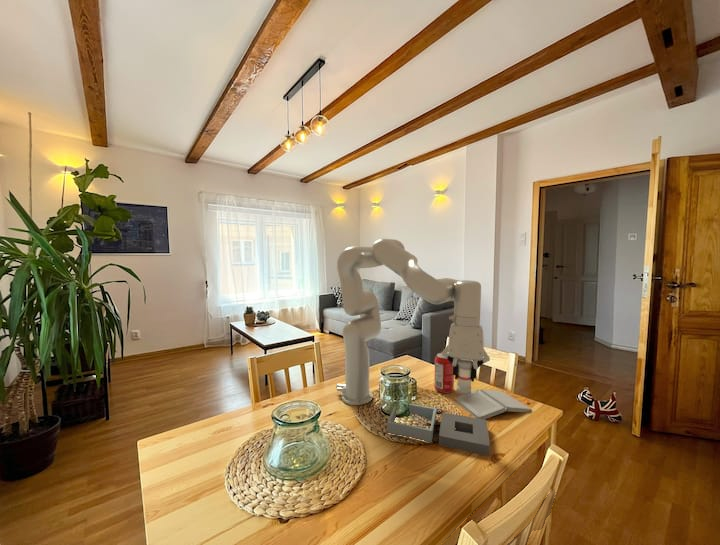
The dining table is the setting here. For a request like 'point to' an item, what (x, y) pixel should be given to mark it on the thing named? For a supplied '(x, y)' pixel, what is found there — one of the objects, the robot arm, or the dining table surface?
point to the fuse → (464, 376)
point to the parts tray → (414, 430)
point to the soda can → (443, 374)
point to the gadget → (489, 403)
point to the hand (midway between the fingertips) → (464, 378)
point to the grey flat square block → (463, 440)
